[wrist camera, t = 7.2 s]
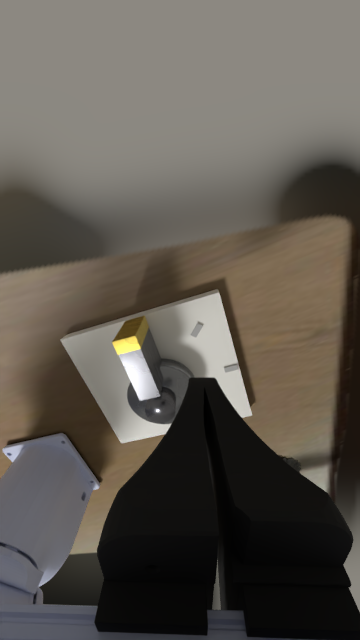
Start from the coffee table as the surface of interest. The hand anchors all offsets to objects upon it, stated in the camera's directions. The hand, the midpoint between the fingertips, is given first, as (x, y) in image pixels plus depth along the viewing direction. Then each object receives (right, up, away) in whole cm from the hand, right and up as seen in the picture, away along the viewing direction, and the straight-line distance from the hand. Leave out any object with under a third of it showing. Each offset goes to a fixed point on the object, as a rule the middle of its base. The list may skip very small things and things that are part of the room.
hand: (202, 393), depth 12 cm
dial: (-3, 0, +8) cm, 9 cm away
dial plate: (-3, -1, +10) cm, 10 cm away
